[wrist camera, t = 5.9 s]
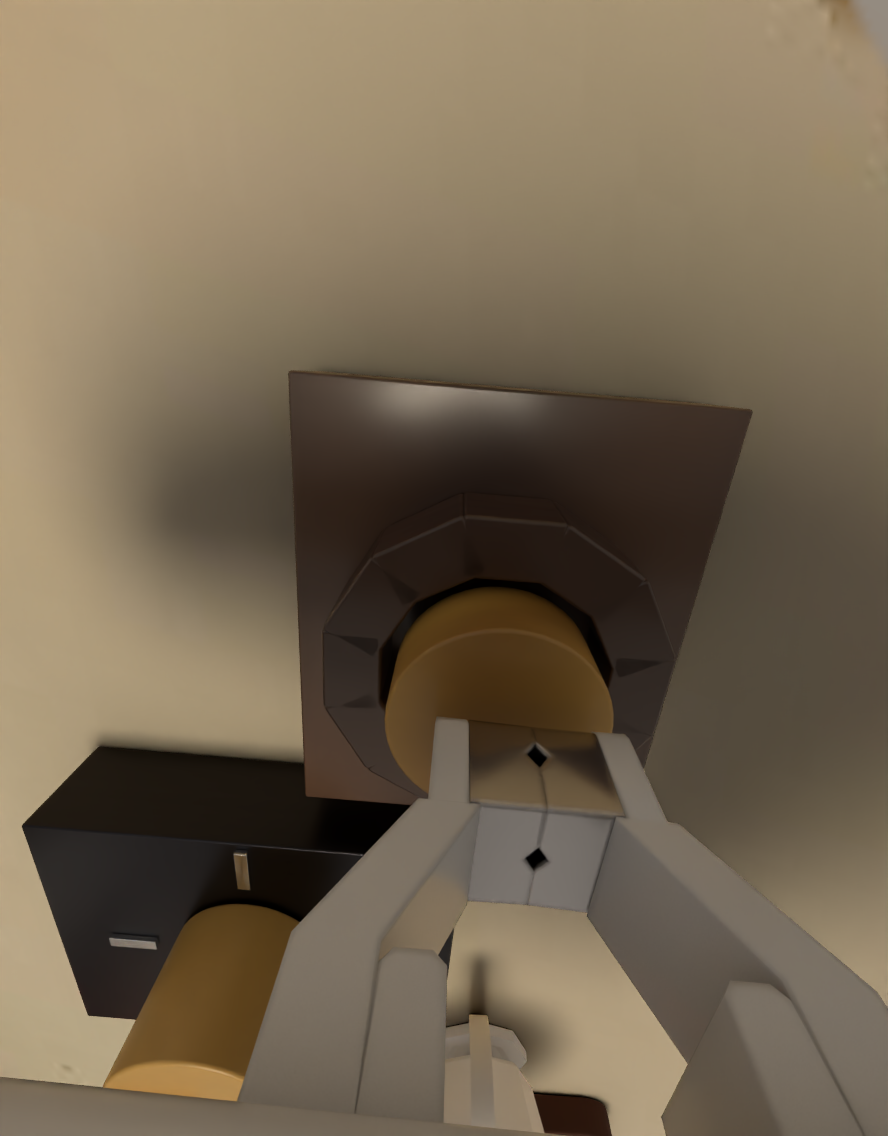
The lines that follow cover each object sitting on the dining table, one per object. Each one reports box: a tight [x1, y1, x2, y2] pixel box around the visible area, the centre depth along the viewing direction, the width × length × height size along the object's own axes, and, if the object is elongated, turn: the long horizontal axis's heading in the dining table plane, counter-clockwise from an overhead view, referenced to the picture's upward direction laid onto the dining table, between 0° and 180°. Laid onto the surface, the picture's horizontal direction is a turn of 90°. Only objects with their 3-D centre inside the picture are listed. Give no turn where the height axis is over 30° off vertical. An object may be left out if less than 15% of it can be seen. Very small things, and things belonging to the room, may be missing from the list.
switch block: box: [288, 371, 752, 805], centre depth 11 cm, size 9×11×4 cm
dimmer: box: [22, 747, 454, 1020], centre depth 16 cm, size 12×9×3 cm
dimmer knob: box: [103, 904, 300, 1101], centre depth 13 cm, size 4×4×4 cm
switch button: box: [385, 587, 614, 794], centre depth 9 cm, size 4×4×2 cm
